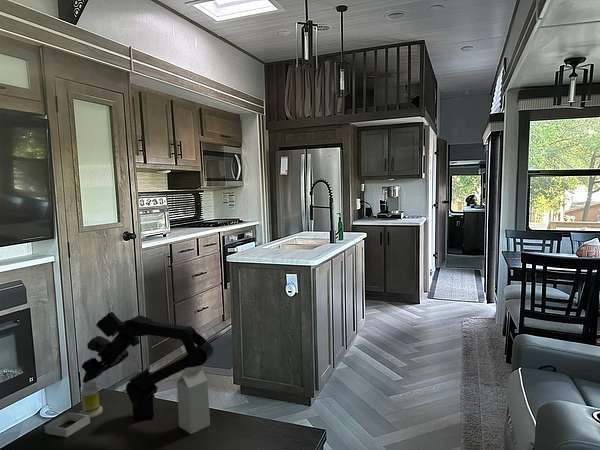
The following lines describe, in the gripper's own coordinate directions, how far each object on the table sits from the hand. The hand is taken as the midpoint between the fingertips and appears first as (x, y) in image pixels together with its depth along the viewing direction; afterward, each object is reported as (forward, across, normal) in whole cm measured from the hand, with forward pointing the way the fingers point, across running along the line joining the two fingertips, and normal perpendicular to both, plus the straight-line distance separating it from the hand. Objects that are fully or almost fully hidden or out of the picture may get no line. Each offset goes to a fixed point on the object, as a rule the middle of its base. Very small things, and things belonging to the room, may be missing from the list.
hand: (92, 376), depth 146 cm
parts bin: (+12, +10, +7) cm, 17 cm away
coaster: (+11, 0, +8) cm, 13 cm away
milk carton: (-18, +5, +38) cm, 42 cm away
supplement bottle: (+10, 0, +8) cm, 13 cm away
